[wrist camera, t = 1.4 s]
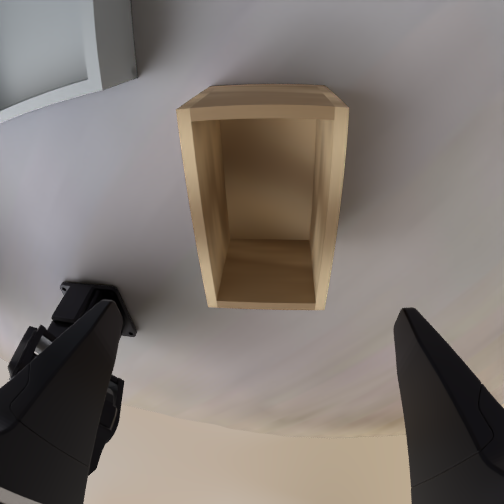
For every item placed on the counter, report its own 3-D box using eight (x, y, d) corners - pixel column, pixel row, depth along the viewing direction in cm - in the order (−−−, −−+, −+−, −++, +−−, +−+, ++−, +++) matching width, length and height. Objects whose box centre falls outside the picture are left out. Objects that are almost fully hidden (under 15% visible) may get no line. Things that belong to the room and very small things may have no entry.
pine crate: (315, 240, 20) (324, 310, 16) (224, 239, 21) (208, 307, 16) (325, 85, 14) (349, 107, 9) (209, 86, 15) (176, 109, 10)
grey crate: (137, 77, 14) (102, 90, 11) (-11, 123, 16) (-46, 144, 12) (131, -112, 6) (99, -134, 3) (-24, -25, 7) (-60, -21, 4)
